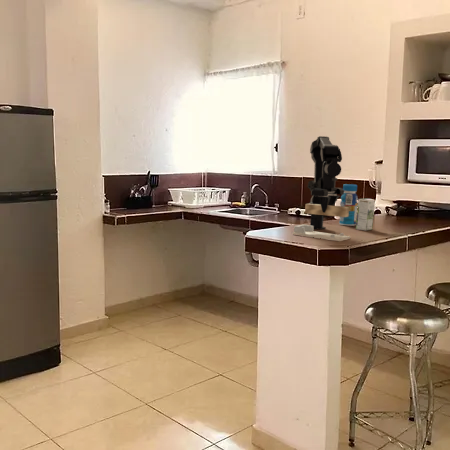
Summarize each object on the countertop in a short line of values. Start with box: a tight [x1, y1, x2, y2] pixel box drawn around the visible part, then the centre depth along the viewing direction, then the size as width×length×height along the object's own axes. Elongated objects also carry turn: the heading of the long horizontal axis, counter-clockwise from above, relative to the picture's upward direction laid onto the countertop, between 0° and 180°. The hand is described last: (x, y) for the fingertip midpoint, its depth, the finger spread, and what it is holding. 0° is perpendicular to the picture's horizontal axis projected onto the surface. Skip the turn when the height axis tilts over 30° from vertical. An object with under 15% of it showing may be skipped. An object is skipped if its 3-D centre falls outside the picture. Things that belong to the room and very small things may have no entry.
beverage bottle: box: [338, 183, 359, 227], centre depth 273 cm, size 8×8×20 cm
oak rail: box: [304, 203, 349, 218], centre depth 235 cm, size 18×4×4 cm, turn 60°
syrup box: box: [355, 198, 376, 231], centre depth 258 cm, size 6×6×14 cm
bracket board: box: [292, 224, 351, 242], centre depth 233 cm, size 10×22×4 cm, turn 51°
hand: (326, 212), depth 235 cm, fingers closed on oak rail, 4 cm apart
